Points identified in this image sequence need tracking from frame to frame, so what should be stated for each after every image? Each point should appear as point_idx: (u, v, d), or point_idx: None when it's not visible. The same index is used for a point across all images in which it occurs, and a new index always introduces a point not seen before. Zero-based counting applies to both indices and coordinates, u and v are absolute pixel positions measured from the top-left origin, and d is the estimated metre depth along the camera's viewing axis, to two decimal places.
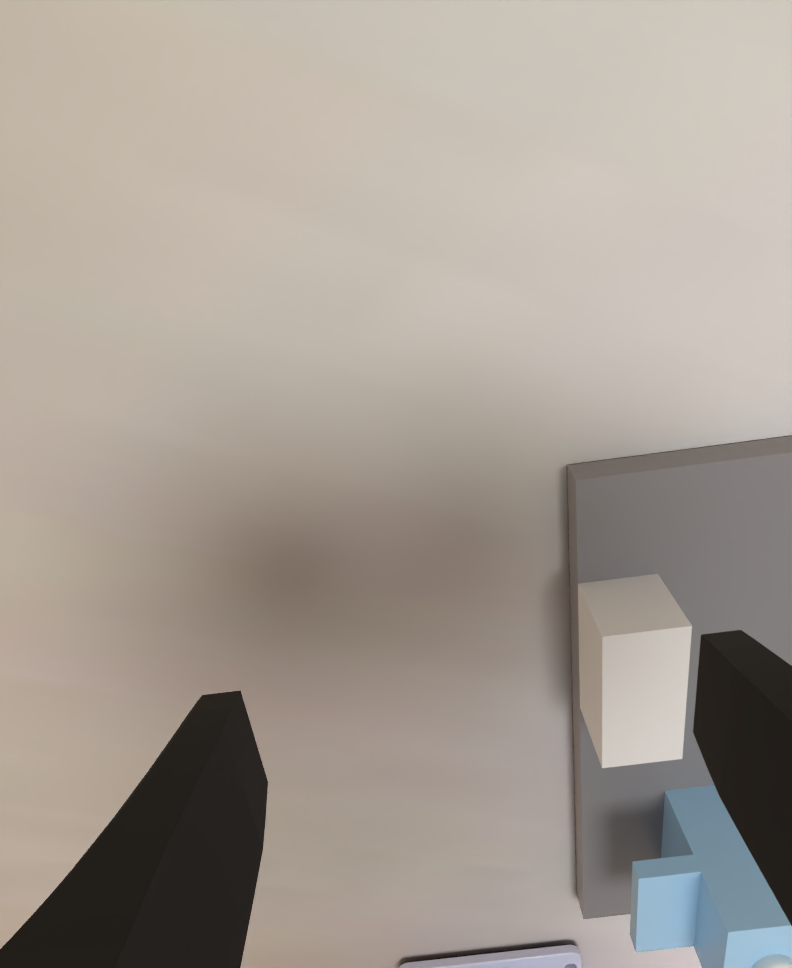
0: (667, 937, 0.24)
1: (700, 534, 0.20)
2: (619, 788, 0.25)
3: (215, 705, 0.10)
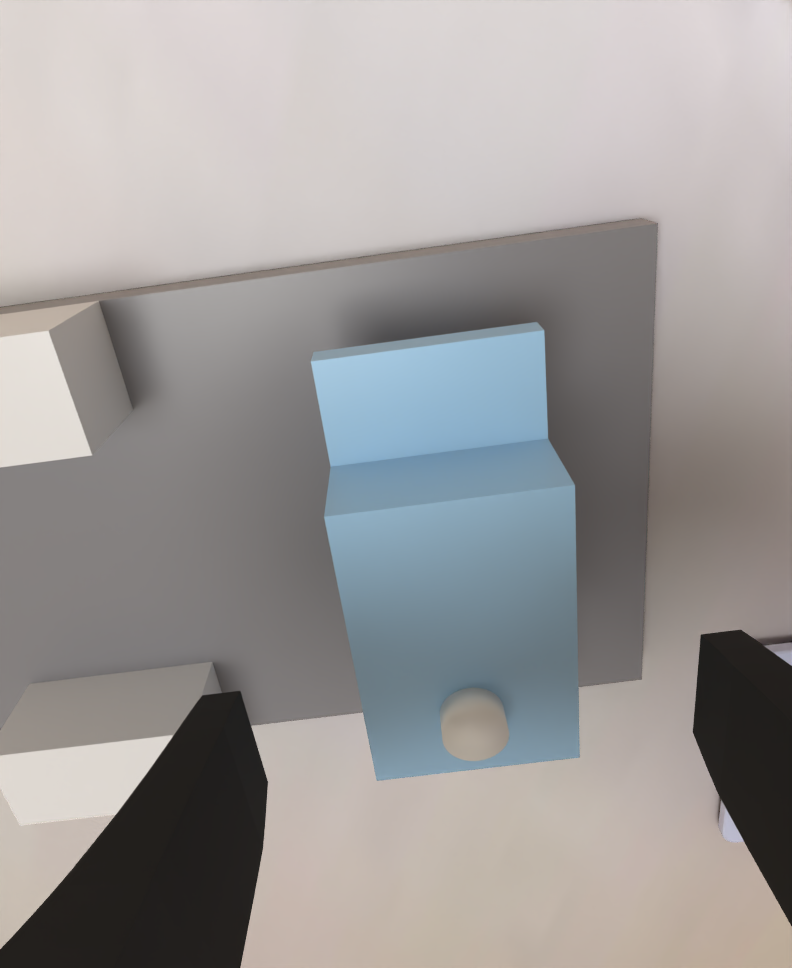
0: None
1: None
2: None
3: (215, 705, 0.10)
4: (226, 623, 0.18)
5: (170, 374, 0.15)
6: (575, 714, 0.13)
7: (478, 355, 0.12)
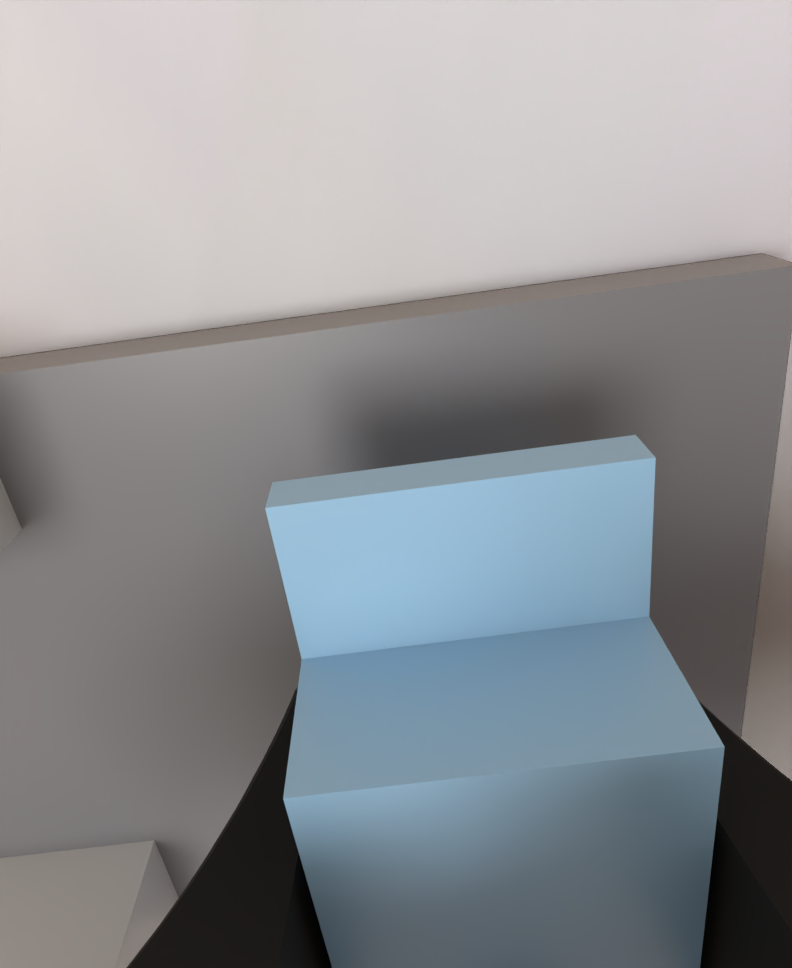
0: None
1: None
2: None
3: None
4: (171, 795, 0.13)
5: (73, 481, 0.10)
6: None
7: (543, 497, 0.07)
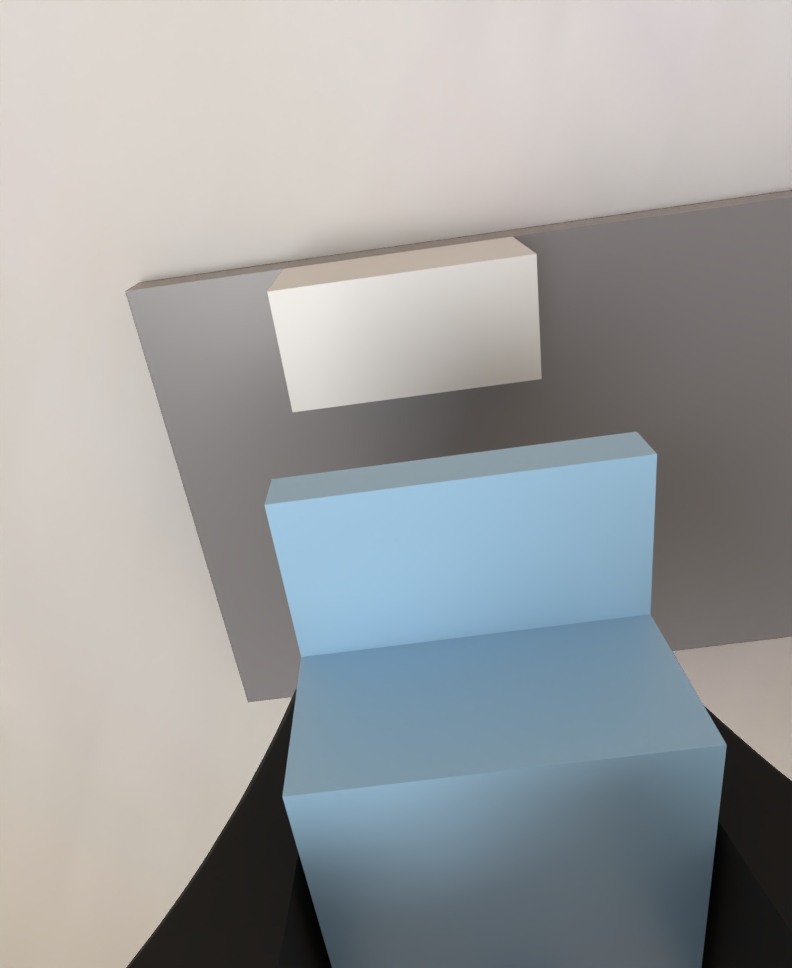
0: None
1: None
2: (678, 612, 0.20)
3: None
4: None
5: (562, 310, 0.16)
6: None
7: (544, 493, 0.07)
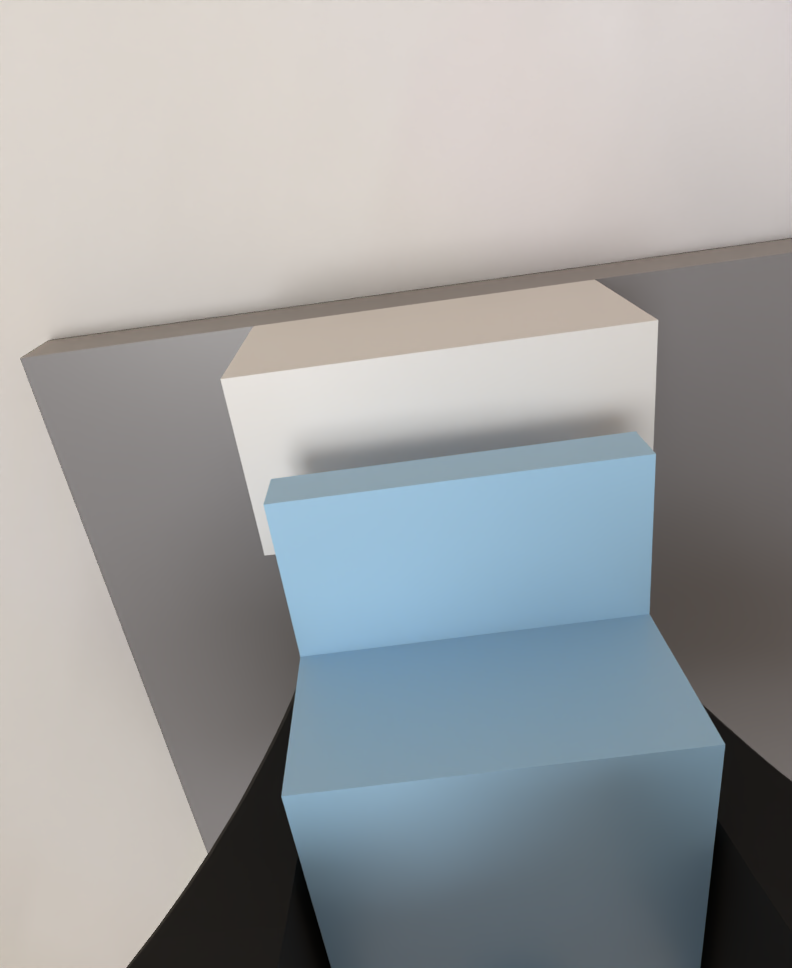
0: None
1: None
2: (789, 768, 0.15)
3: None
4: None
5: (661, 383, 0.11)
6: None
7: (543, 493, 0.07)
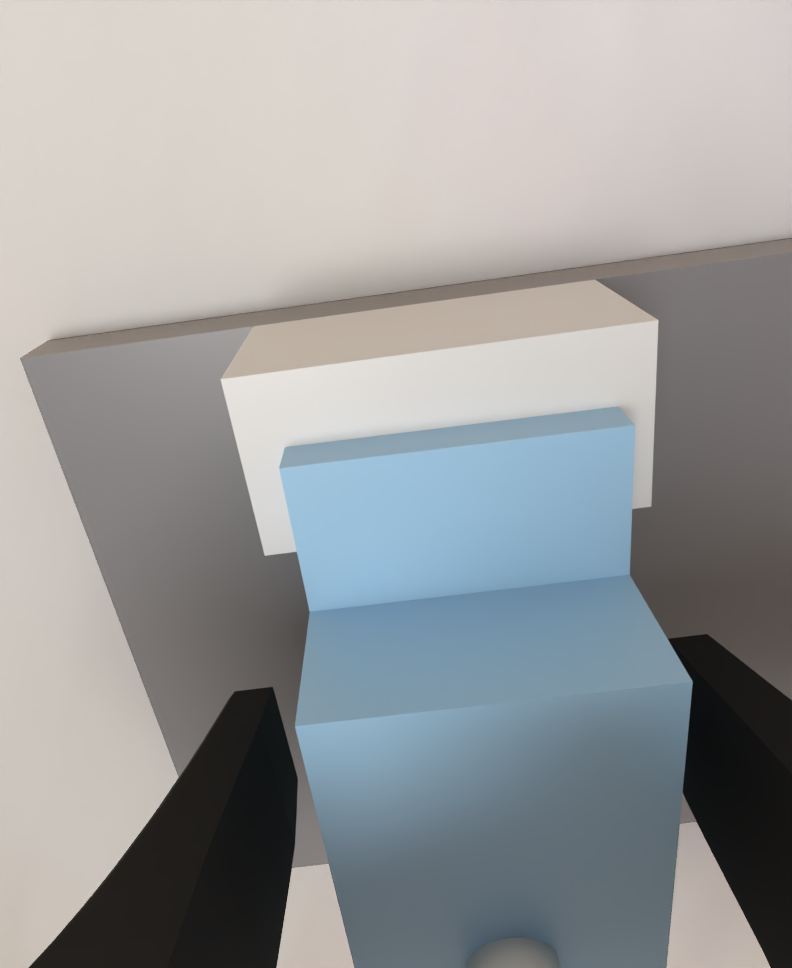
0: None
1: None
2: None
3: (248, 701, 0.10)
4: None
5: (661, 383, 0.11)
6: (661, 967, 0.09)
7: (533, 461, 0.08)
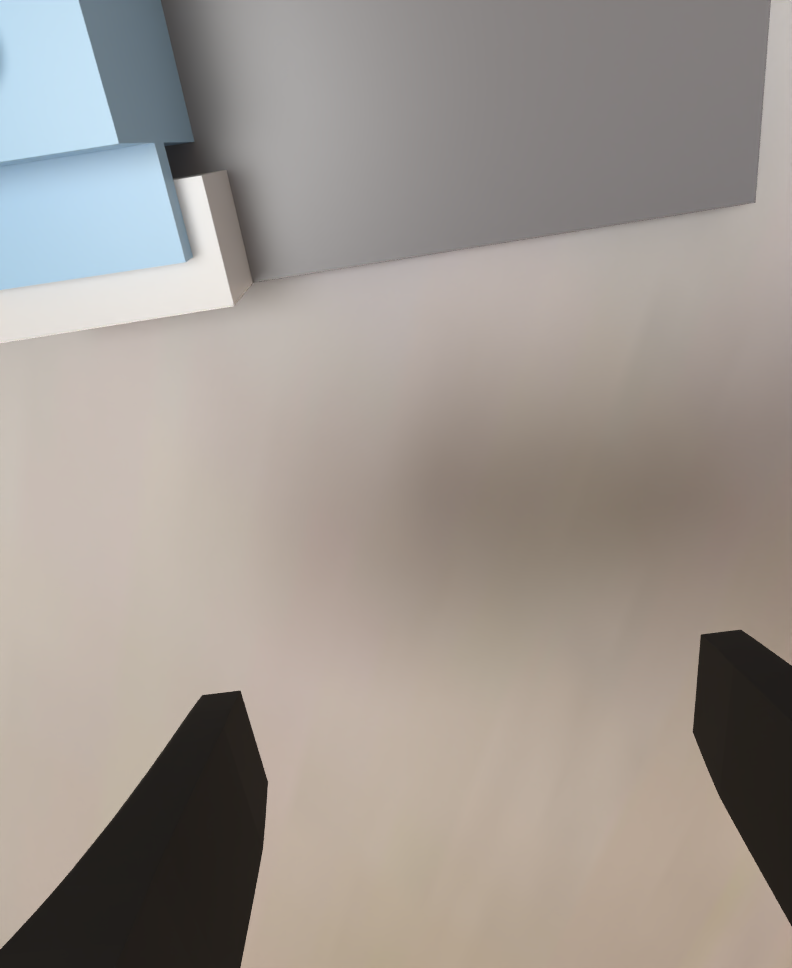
0: (133, 206, 0.12)
1: None
2: (420, 191, 0.15)
3: (215, 705, 0.10)
4: (243, 103, 0.15)
5: None
6: (90, 55, 0.10)
7: None
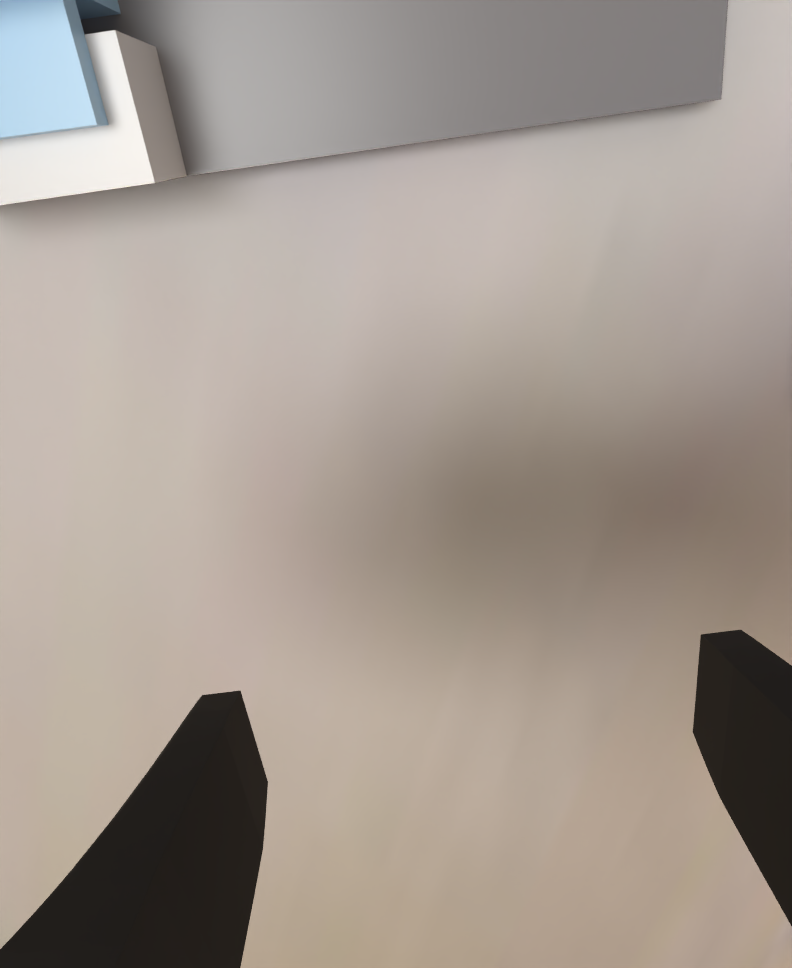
0: (37, 58, 0.11)
1: None
2: (363, 77, 0.14)
3: (215, 705, 0.10)
4: None
5: None
6: None
7: None
